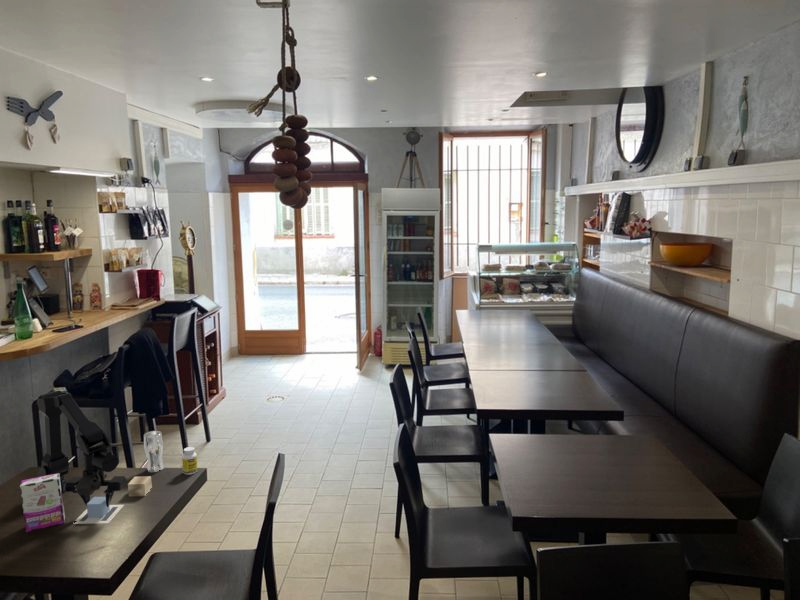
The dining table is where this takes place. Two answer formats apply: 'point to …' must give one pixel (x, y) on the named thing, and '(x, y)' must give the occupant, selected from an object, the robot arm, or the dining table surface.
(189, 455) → the supplement bottle
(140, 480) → the oak block
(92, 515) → the blue cube
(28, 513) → the candy bar box
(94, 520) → the letter board
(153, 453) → the beer glass
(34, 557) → the dining table surface
